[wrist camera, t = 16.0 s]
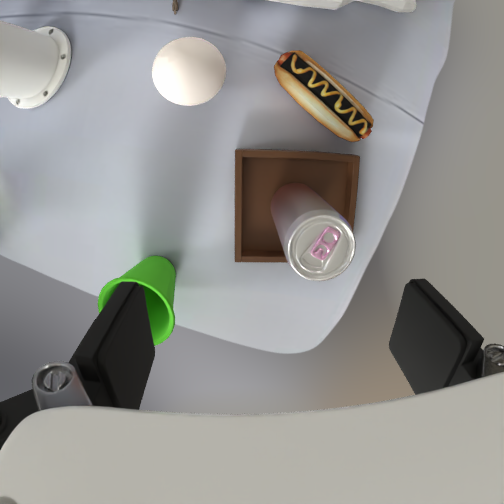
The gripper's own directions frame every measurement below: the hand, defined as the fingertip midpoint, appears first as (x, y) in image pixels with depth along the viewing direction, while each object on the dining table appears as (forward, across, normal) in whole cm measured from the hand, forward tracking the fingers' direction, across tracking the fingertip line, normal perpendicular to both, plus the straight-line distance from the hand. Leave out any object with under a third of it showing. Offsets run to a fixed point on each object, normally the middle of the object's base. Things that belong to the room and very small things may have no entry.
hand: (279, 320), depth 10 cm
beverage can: (+29, -5, +3) cm, 29 cm away
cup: (+30, +12, +12) cm, 34 cm away
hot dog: (+29, -8, -10) cm, 32 cm away
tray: (+29, -6, +3) cm, 30 cm away
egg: (+30, +6, -12) cm, 33 cm away
